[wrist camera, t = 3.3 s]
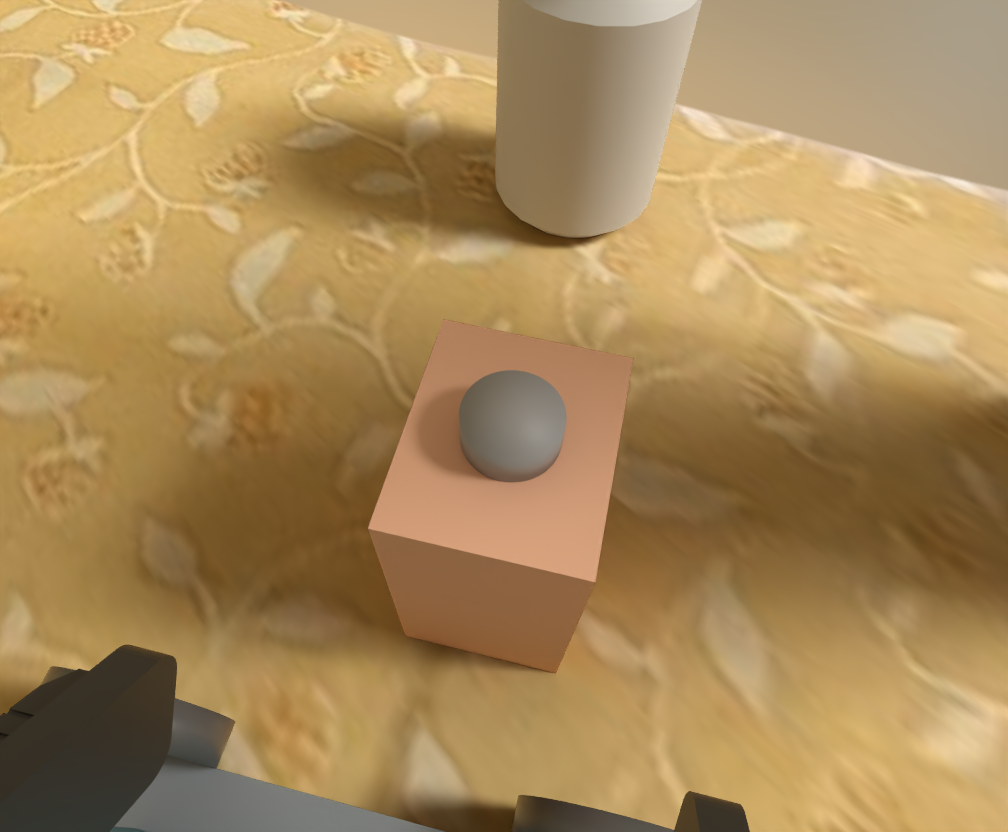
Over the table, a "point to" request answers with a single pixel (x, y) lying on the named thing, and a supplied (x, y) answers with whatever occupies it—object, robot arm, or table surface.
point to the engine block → (501, 493)
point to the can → (586, 107)
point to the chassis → (292, 795)
